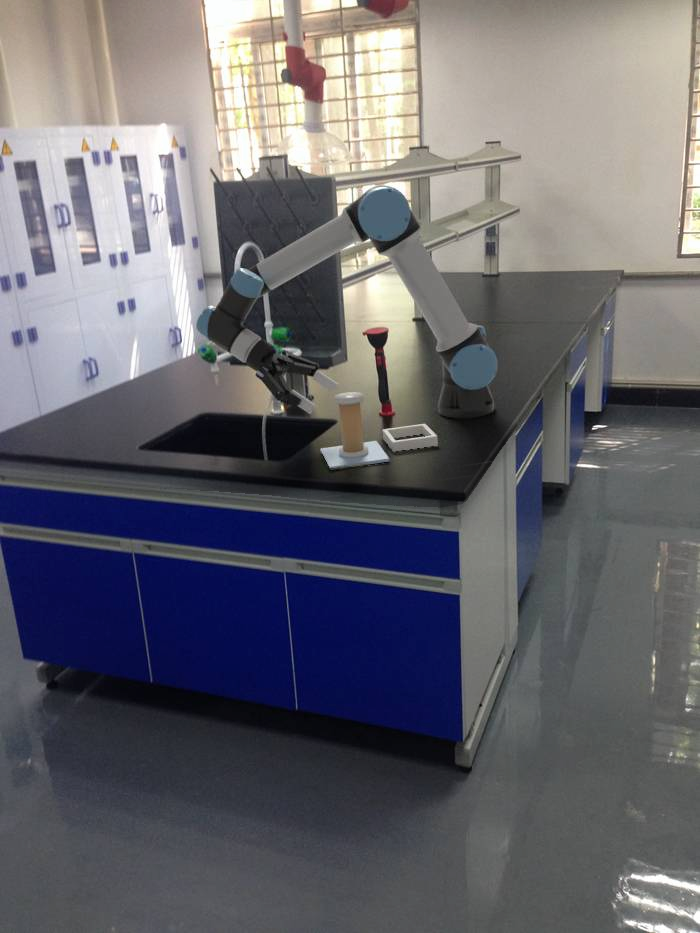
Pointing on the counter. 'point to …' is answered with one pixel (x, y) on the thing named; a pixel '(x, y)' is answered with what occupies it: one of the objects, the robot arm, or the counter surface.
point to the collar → (411, 443)
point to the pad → (336, 460)
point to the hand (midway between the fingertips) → (325, 398)
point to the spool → (351, 424)
